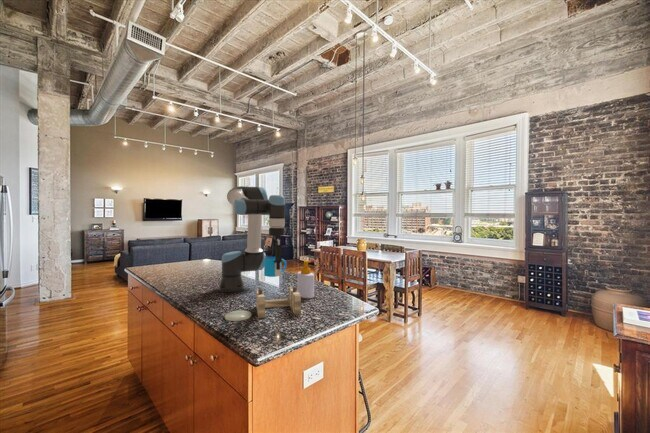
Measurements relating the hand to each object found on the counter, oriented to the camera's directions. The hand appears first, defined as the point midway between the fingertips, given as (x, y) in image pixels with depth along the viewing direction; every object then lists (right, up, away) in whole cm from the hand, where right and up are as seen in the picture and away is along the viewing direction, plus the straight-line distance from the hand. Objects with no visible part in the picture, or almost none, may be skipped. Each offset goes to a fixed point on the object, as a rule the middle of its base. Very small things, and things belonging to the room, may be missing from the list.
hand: (276, 274), depth 142 cm
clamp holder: (0, -19, +4) cm, 19 cm away
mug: (0, 0, +1) cm, 1 cm away
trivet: (-17, -19, -5) cm, 26 cm away
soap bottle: (+12, -19, +30) cm, 37 cm away
